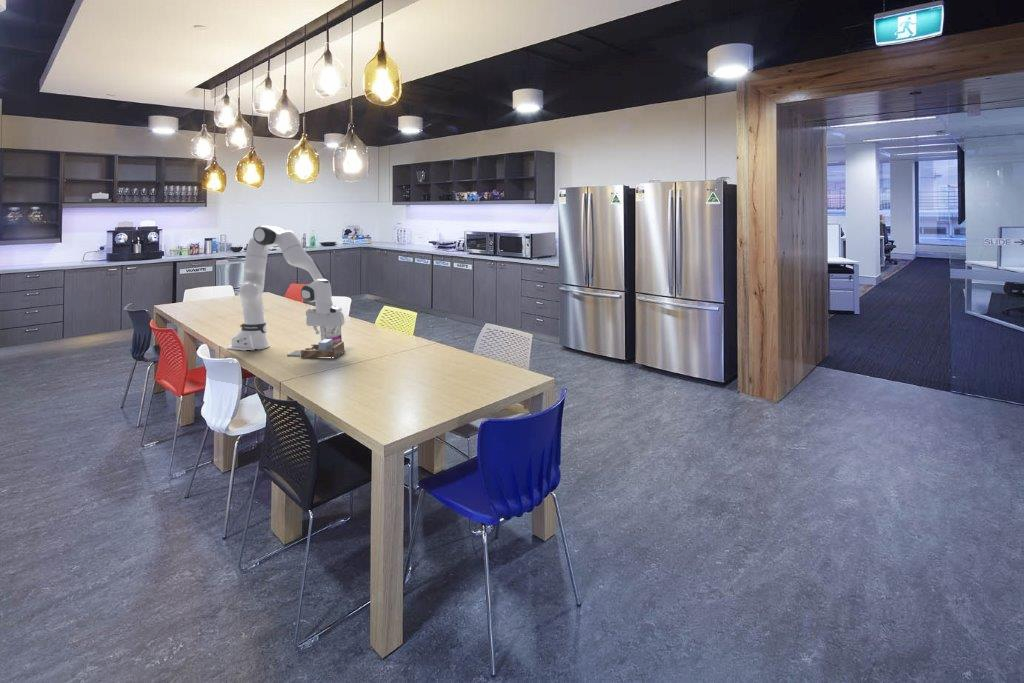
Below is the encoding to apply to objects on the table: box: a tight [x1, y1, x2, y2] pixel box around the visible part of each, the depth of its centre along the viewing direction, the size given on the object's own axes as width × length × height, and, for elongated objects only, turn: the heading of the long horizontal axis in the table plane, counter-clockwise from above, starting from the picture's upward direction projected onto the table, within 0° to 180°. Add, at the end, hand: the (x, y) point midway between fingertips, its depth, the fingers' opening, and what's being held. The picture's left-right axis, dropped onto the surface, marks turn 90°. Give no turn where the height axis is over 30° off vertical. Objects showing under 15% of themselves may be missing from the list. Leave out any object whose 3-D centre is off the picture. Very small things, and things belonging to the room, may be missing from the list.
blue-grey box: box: [318, 339, 333, 351], centre depth 320 cm, size 4×10×8 cm, turn 176°
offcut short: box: [304, 345, 314, 350], centre depth 321 cm, size 3×6×2 cm, turn 4°
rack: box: [300, 341, 345, 359], centre depth 320 cm, size 18×15×6 cm
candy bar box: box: [319, 326, 343, 345], centre depth 338 cm, size 11×5×16 cm, turn 143°
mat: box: [287, 349, 301, 357], centre depth 322 cm, size 7×11×1 cm, turn 176°
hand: (326, 333), depth 319 cm, fingers open, 8 cm apart
